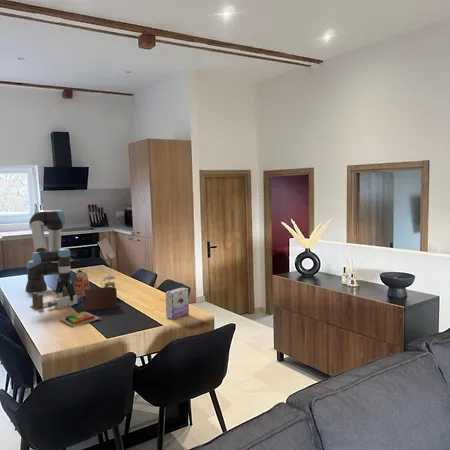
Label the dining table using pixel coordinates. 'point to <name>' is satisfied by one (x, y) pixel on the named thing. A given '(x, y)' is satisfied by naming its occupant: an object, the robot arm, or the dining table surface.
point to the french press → (110, 277)
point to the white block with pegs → (64, 301)
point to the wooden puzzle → (79, 319)
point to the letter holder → (100, 298)
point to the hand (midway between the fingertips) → (65, 303)
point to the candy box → (177, 303)
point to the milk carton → (81, 282)
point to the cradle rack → (38, 300)
